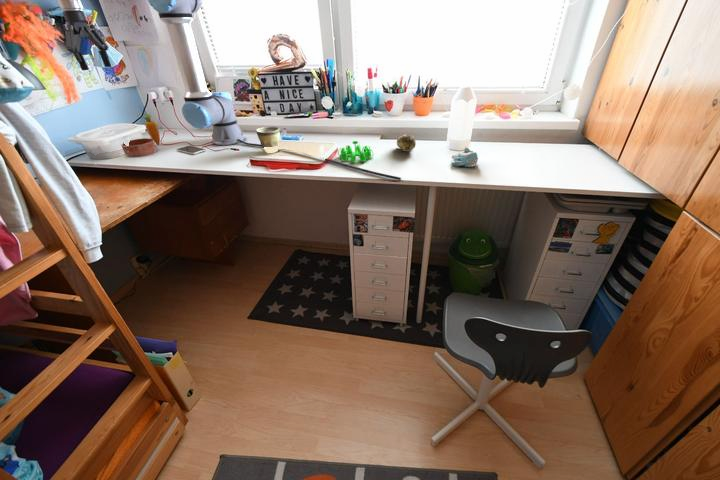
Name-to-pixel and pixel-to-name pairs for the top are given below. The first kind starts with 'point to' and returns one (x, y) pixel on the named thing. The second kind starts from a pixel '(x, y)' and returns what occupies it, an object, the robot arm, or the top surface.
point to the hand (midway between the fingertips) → (97, 68)
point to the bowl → (139, 147)
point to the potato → (406, 142)
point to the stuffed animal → (465, 158)
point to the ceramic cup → (268, 136)
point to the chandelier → (355, 153)
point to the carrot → (152, 129)
